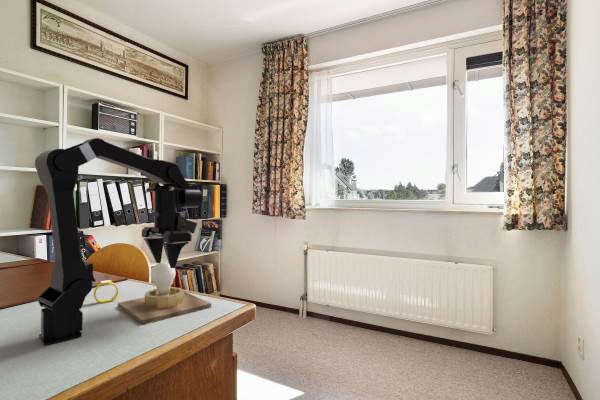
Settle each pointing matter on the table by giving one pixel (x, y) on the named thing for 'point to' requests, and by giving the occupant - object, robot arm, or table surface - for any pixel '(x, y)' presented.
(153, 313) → the socket base
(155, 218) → the robot arm
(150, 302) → the socket collar
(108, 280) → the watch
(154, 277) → the lightbulb
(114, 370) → the table surface
